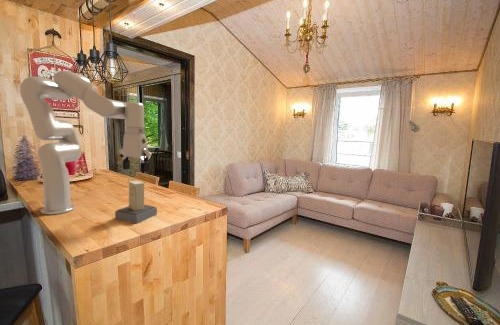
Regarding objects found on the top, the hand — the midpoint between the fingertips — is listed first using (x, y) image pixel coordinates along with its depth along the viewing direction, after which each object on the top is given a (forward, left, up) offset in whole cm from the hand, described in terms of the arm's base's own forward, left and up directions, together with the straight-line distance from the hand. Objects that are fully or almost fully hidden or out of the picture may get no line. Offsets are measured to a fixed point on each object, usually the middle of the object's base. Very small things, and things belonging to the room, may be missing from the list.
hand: (135, 170), depth 105 cm
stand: (0, 0, -21) cm, 21 cm away
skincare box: (+1, 0, -18) cm, 18 cm away
